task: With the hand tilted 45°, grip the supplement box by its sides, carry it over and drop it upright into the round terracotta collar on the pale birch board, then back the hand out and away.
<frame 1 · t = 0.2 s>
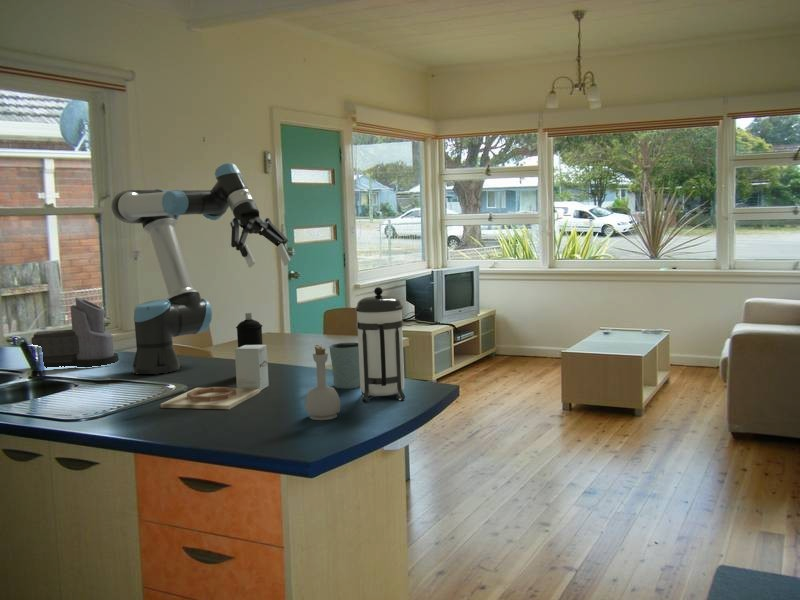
hand: (270, 264, 242), 36 cm above the countertop, tool tilted 35°, fingers open, 13 cm apart
supplement box: (253, 389, 235), on the countertop
potion bottle: (323, 417, 199), on the countertop
coffee press: (384, 398, 216), on the countertop
collar board: (212, 399, 222), on the countertop
teal cup: (348, 385, 235), on the countertop
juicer: (78, 366, 285), on the countertop
aerosol can: (252, 375, 255), on the countertop
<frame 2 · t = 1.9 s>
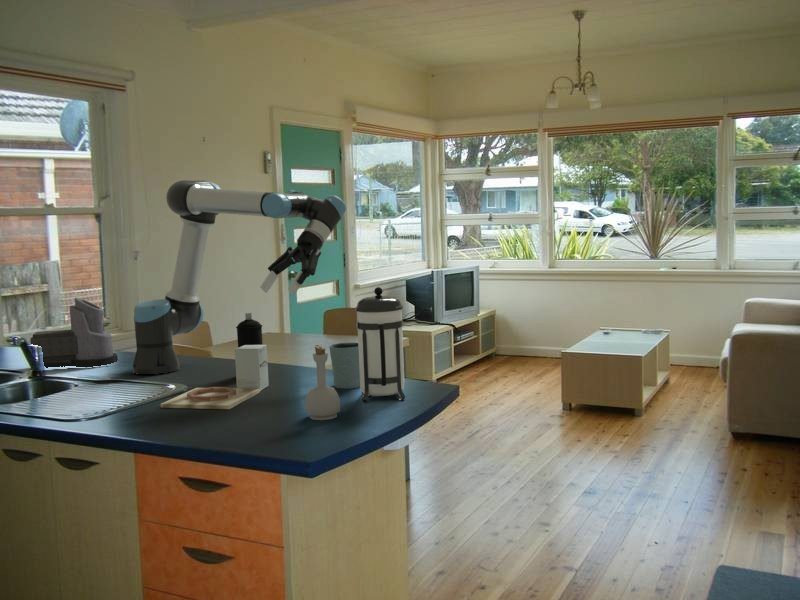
hand: (276, 290, 239), 28 cm above the countertop, tool tilted 45°, fingers open, 13 cm apart
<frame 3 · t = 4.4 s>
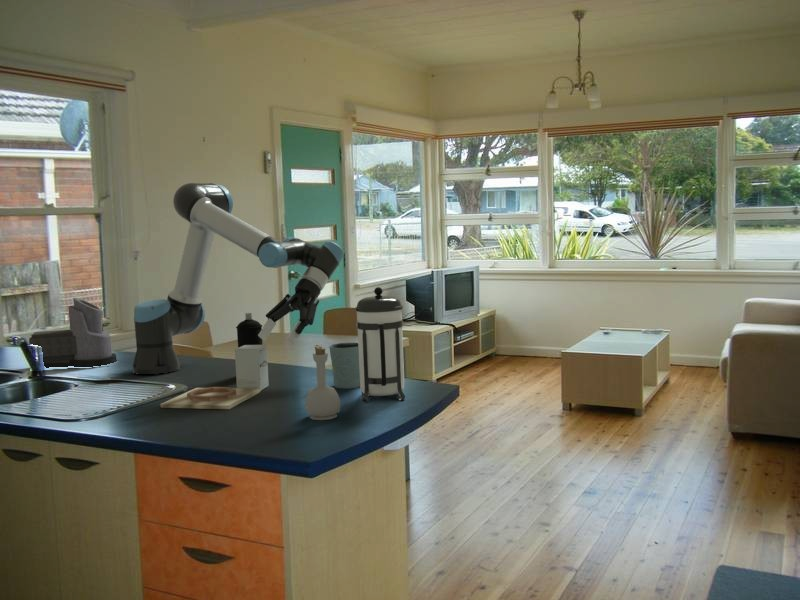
hand: (275, 340, 238), 13 cm above the countertop, tool tilted 45°, fingers open, 13 cm apart
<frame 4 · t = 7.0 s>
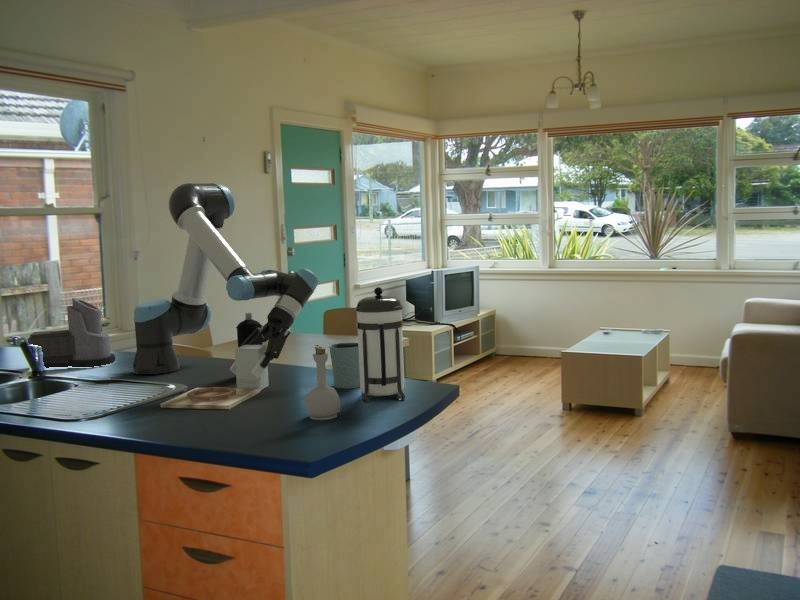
hand: (243, 374, 232), 5 cm above the countertop, tool tilted 45°, fingers closed on supplement box, 10 cm apart
supplement box: (253, 389, 235), on the countertop, touching gripper
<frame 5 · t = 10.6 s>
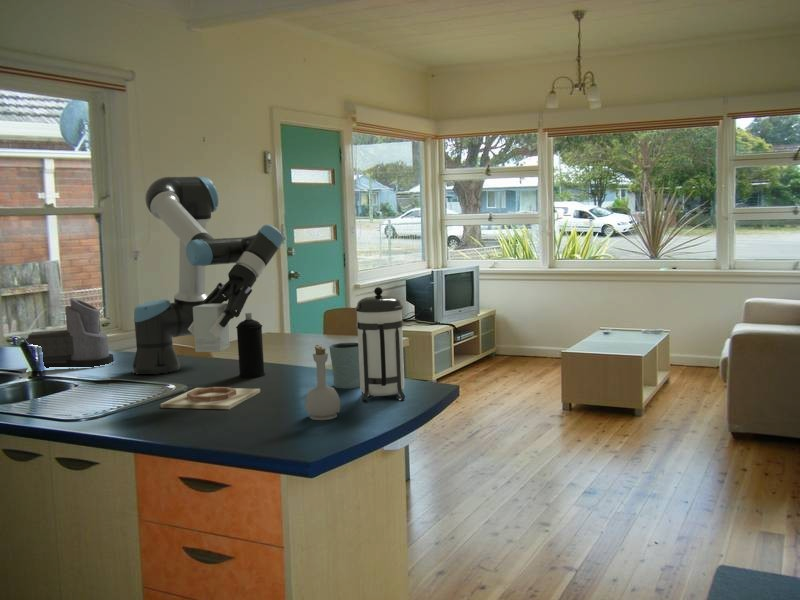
hand: (202, 333, 219), 19 cm above the countertop, tool tilted 45°, fingers closed on supplement box, 10 cm apart
supplement box: (212, 350, 222), point 14 cm above the countertop, touching gripper
when the fingers open (8 cm above the countertop, at t = 13.8 s): supplement box drops 2 cm, resting on collar board.
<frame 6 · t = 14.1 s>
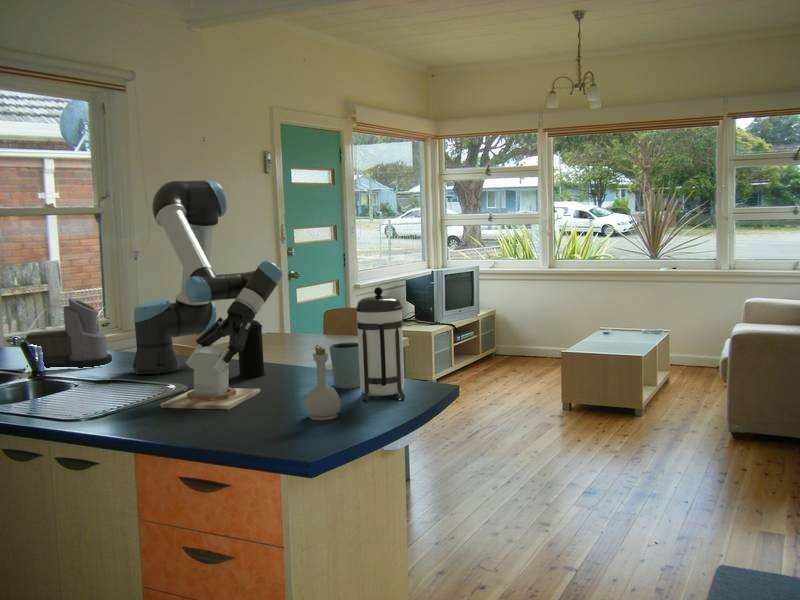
hand: (202, 368, 220), 9 cm above the countertop, tool tilted 45°, fingers open, 13 cm apart
supplement box: (211, 394, 223), point 1 cm above the countertop, touching collar board
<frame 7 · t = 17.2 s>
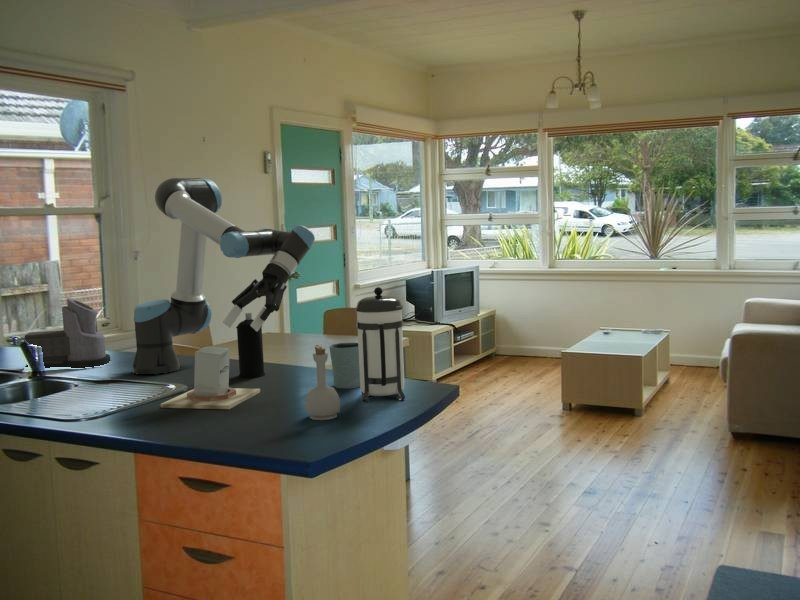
hand: (239, 326, 228), 19 cm above the countertop, tool tilted 45°, fingers open, 13 cm apart
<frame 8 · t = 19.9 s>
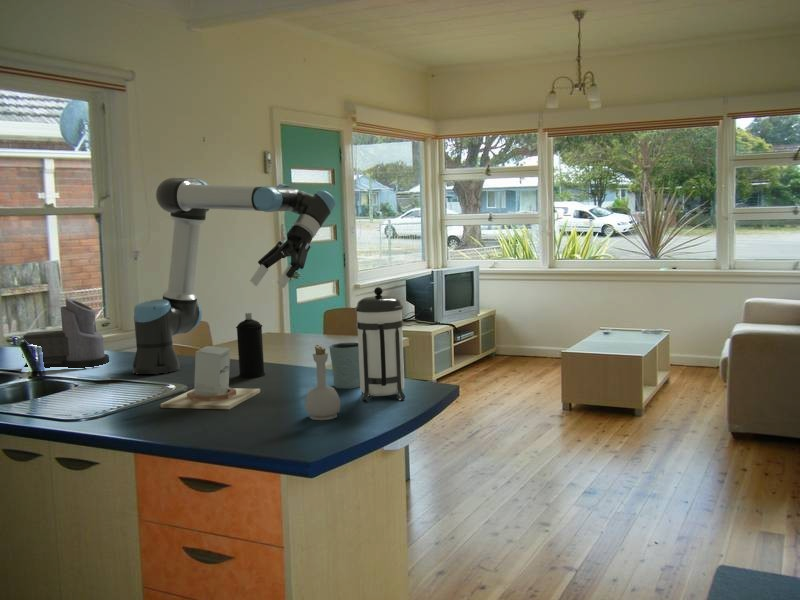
hand: (266, 284, 243), 30 cm above the countertop, tool tilted 45°, fingers open, 13 cm apart
at the end: supplement box 0.3 cm off-centre on the collar board, point 1.4 cm above the collar board's base; supplement box tilted 8°; the gripper is holding nothing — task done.
